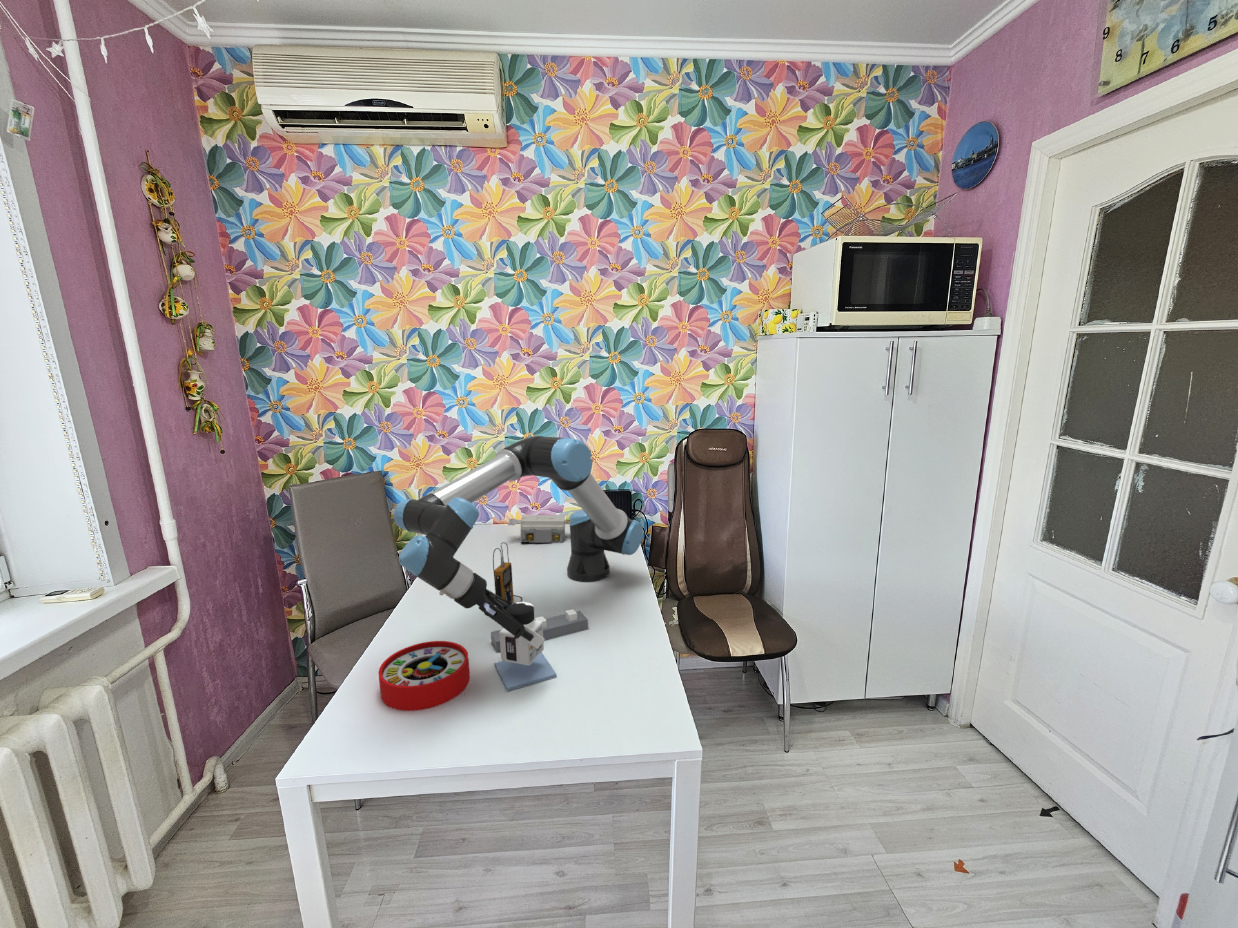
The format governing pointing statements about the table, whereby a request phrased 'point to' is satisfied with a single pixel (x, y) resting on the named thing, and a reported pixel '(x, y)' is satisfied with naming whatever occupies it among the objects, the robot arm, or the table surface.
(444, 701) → the toy clock
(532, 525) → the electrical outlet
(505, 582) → the multimeter
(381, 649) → the table surface
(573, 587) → the table surface
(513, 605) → the container
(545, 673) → the pad
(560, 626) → the breaker panel
